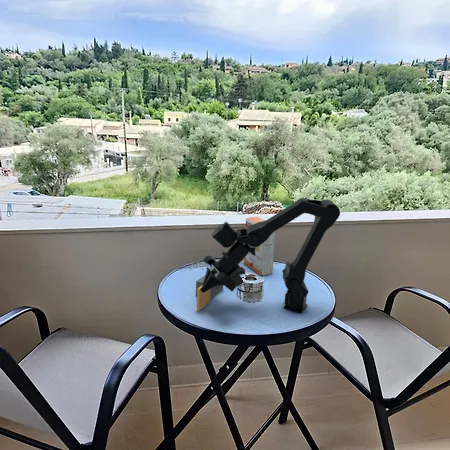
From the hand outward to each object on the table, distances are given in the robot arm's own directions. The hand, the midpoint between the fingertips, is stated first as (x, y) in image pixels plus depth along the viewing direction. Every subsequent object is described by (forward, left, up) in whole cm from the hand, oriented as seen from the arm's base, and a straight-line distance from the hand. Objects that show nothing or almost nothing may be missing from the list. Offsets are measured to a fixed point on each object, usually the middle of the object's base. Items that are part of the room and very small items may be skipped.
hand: (202, 291), depth 140 cm
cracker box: (0, -42, -7) cm, 43 cm away
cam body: (+5, -13, -7) cm, 15 cm away
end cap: (+3, -26, -8) cm, 27 cm away
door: (+1, -3, -7) cm, 8 cm away
